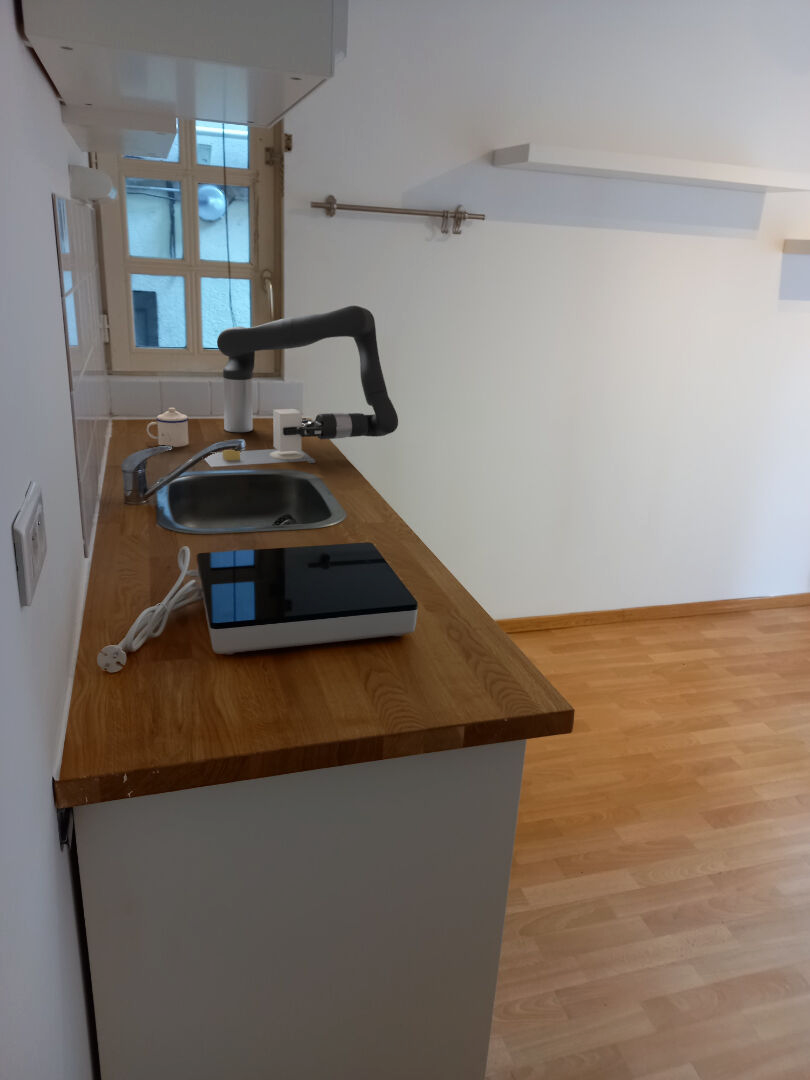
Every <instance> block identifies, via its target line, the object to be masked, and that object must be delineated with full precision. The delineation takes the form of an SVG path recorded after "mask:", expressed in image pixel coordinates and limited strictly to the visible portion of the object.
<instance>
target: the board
mask: <svg viewBox="0 0 810 1080" xmlns="http://www.w3.org/2000/svg"><path fill="white" fill-rule="evenodd" d="M240 451H241V452H240V460H227V461H226V460H225V459H224V458H223V451H219V452H218V451H217V453H216V452H214V453H215V454H212V455H210V456H208V457H207V458H205V459H203V460H204V462H206V463H207V464H208V466H210V468H214V467H215V468H216V467H217V468H218V467H229V466H232V467H233V466H246V465H247V466H248V465H262V464H263V465H264V464H278V463H279V464H280V463H292V462H293V463H294V462H297V463H298V462H308V463H309V464H310V463H315V464H316V459H314V458H313V457H311V456H310V455H309V454H308V453H306V452H305V451H303V450H302V449H301V451H285V452H280V451H279V450H277V449H276V448H273V449H272V448H271V449H254V450H252V449H251V450H240Z"/></svg>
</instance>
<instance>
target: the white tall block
mask: <svg viewBox="0 0 810 1080" xmlns="http://www.w3.org/2000/svg"><path fill="white" fill-rule="evenodd" d="M272 410H273V411H272V412H273V413H272V414H273V415H272V416H273V419H272V421H273V424H272V426H273V427H272V429H273V448H274V449H277V450H279V451H280V452H285V451H301V450H302V437H301V435H300V436H297V434H296V435H283V428H284V427H296V428H297V426H302V419H303V417H302V416H303V413H302V412H301V411H299V410H298V409H295V408H283V409H282V408H279V409H272Z"/></svg>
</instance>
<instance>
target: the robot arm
mask: <svg viewBox="0 0 810 1080" xmlns="http://www.w3.org/2000/svg"><path fill="white" fill-rule="evenodd" d="M339 337H341V338H343V337H346V338H347V337H350V338H353V339H354V342H355V344H356V345H355V346H356V347H357V351H358V355H359V367H360V369H359V370H360V374H359V375H360V381H361V386H362V391H363V395H364V398H365V403H366V404H367V405H368V406H370V407H372V409H373V411H374V414H364V413H361V412H358V413H357V412H356V413H355V412H354V413H344V412H333V413H318V414H317V415H316V416H315V420H312V419H310V418H308V419H307V418H305V417H304V418H302V426H297V428H296V427H284V428H283V435H296V434H297V436H300V435H301V438H304V437H305V438H309V437H311V438H312V437H313V438H314V437H317V438H318V439H319V440H336V439H345V438H353V437H354V438H356V437H376V438H377V437H384V436H387V435H390V434H392V433H394V432H395V431H396V430H397V429H398V426H399V418H398V417H399V416H398V413H397V411H396V408H395V407H394V405H393V402H392V400H391V399H390V397H389V393H388V389H387V386H386V385H387V384H386V382H385V381H386V380H385V377H384V374H383V370H382V366H381V362H380V356H379V348H378V341H377V340H378V339H377V329H376V321H375V317H374V315H373V313H372V312H371V311H370V310H368V308H365V307H362V306H358V305H349V306H346V307H342V308H339V309H335V310H332V311H329V312H324V313H318V314H315V313H314V314H306V315H305V314H304V315H296V316H290V317H286V318H281V319H276V320H273V321H270V322H266V323H263V324H260V325H256V326H250V327H244V326H235V327H228V328H225V329H224V330H223V331H221V332H220V334H219V335H218V336H217V340H216V345H217V348H218V350H219V352H220V353H221V354H223V355H224V356H226V357H228V361H227V362H226V363H227V364H226V365H225V367H224V368H223V370H222V377H223V380H222V381H223V383H222V386H223V423H224V430H225V431H226V432H231V433H247V432H251V431H253V372H254V369H255V359H256V358H255V356H256V355H255V353H256V352H258V351H271V350H272V351H275V350H287V349H289V350H290V349H295V348H297V349H298V348H301V347H306V346H310V345H313V344H315V343H317V342H319V341H321V340H324V339H330V338H339Z"/></svg>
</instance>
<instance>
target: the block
mask: <svg viewBox="0 0 810 1080" xmlns="http://www.w3.org/2000/svg"><path fill="white" fill-rule="evenodd" d="M240 451H241V450H240ZM240 451H235V450H224V451H222V452H223V458H224V459H225V460H226V461H227V460H240Z"/></svg>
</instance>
